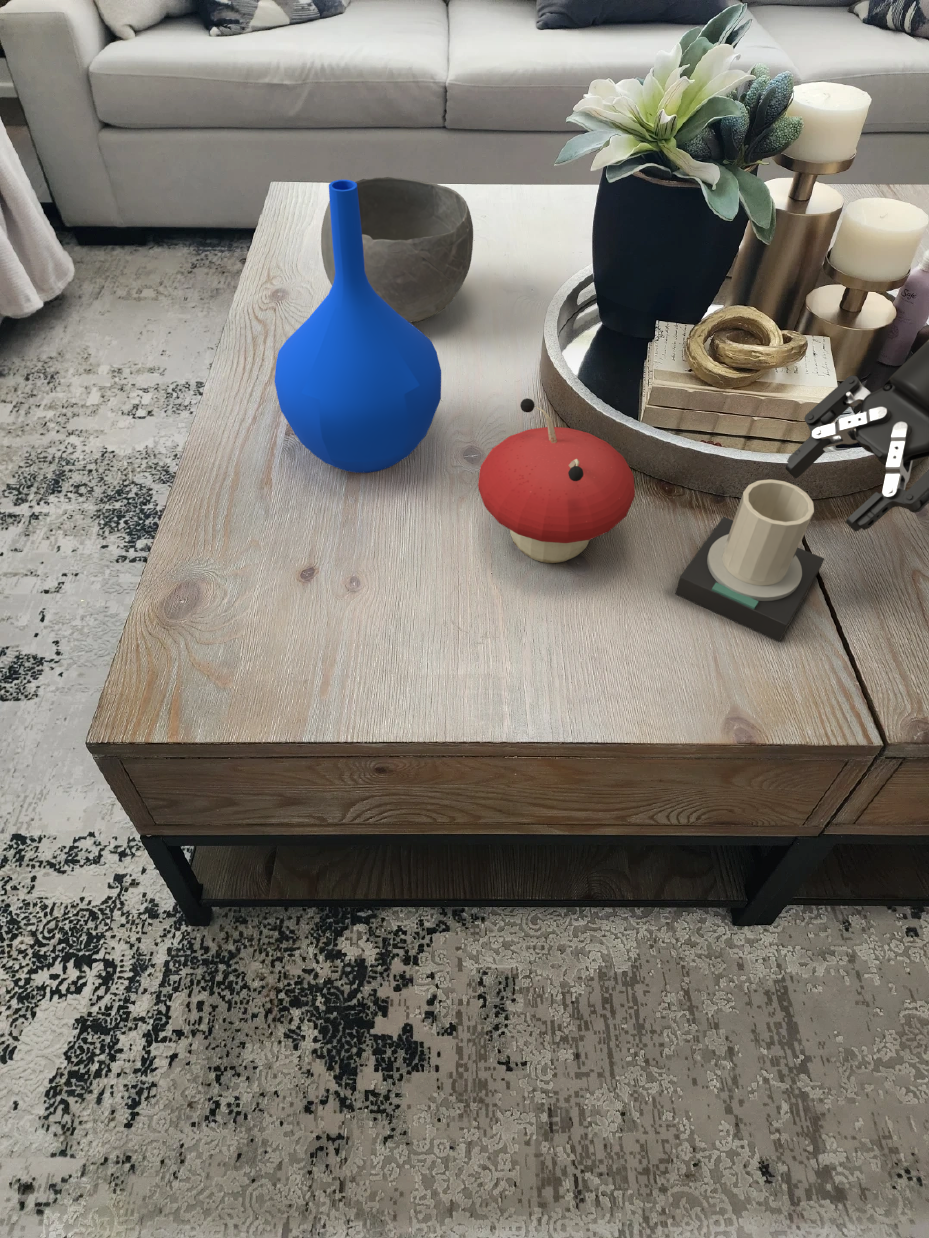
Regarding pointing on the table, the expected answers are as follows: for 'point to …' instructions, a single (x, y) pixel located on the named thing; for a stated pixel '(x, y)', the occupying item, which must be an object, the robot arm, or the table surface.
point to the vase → (357, 364)
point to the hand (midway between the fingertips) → (819, 499)
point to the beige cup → (767, 531)
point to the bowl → (410, 243)
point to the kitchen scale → (746, 587)
